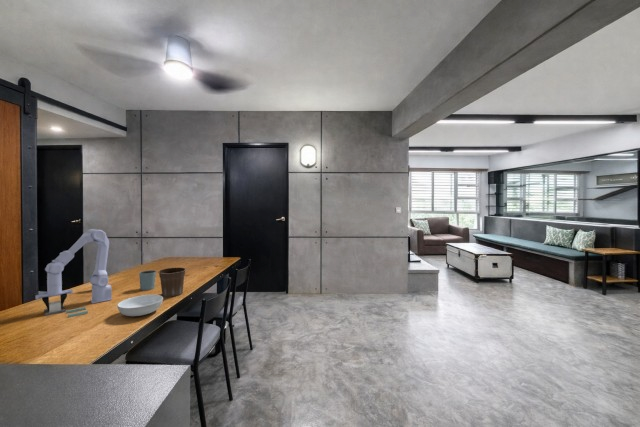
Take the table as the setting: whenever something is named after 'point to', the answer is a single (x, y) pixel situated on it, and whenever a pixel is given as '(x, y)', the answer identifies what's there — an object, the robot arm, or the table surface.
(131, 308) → the serving bowl
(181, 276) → the plant pot
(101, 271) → the robot arm
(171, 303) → the table surface
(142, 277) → the drinking glass
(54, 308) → the grey cube
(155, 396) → the table surface
